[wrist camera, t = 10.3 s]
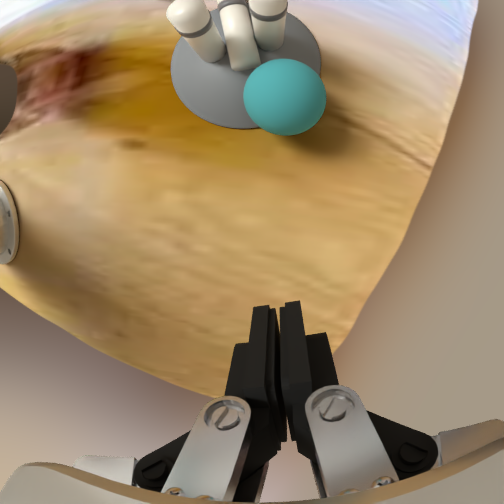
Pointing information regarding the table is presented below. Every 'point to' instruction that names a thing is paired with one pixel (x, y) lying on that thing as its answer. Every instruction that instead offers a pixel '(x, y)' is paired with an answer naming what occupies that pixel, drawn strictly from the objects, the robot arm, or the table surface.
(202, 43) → the pin
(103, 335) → the table surface
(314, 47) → the pin spot
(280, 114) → the ball
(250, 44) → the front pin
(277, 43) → the pin
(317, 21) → the table surface
